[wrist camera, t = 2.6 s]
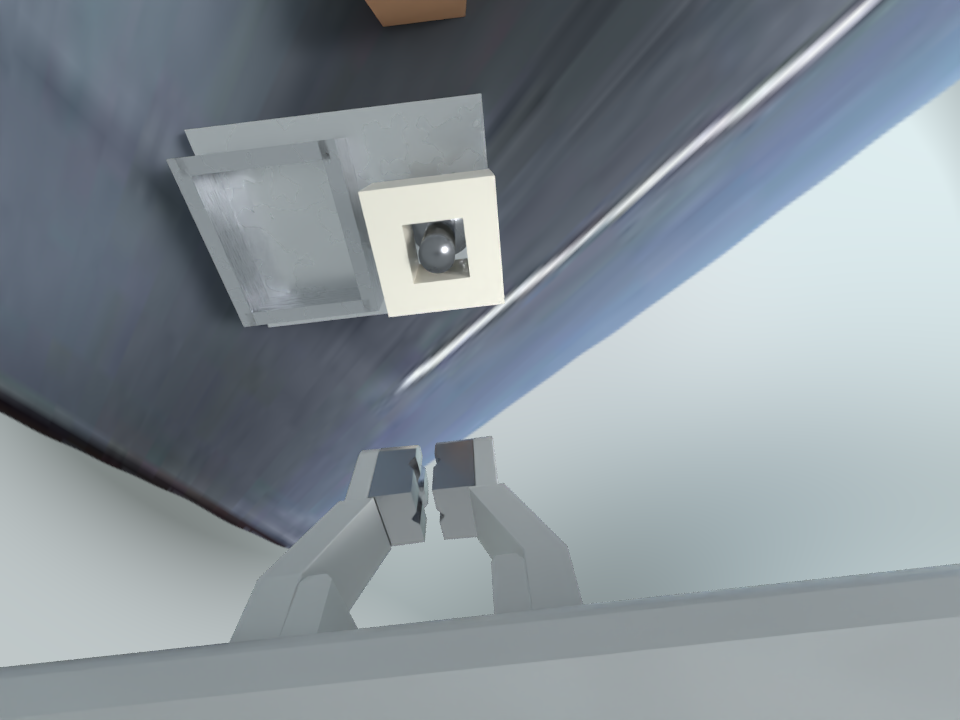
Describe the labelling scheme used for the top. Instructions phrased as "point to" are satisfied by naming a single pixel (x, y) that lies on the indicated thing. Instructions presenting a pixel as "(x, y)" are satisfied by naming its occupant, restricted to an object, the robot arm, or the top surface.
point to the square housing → (395, 248)
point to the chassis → (320, 202)
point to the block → (415, 10)
